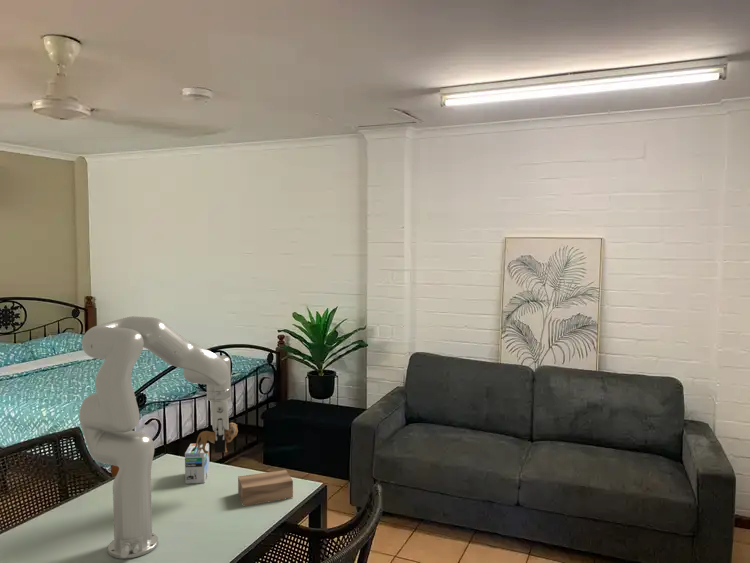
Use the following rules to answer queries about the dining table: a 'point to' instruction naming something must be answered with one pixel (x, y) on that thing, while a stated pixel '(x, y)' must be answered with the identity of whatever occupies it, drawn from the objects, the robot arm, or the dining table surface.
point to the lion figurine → (211, 437)
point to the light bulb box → (196, 464)
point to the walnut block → (265, 487)
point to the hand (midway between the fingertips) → (219, 448)
